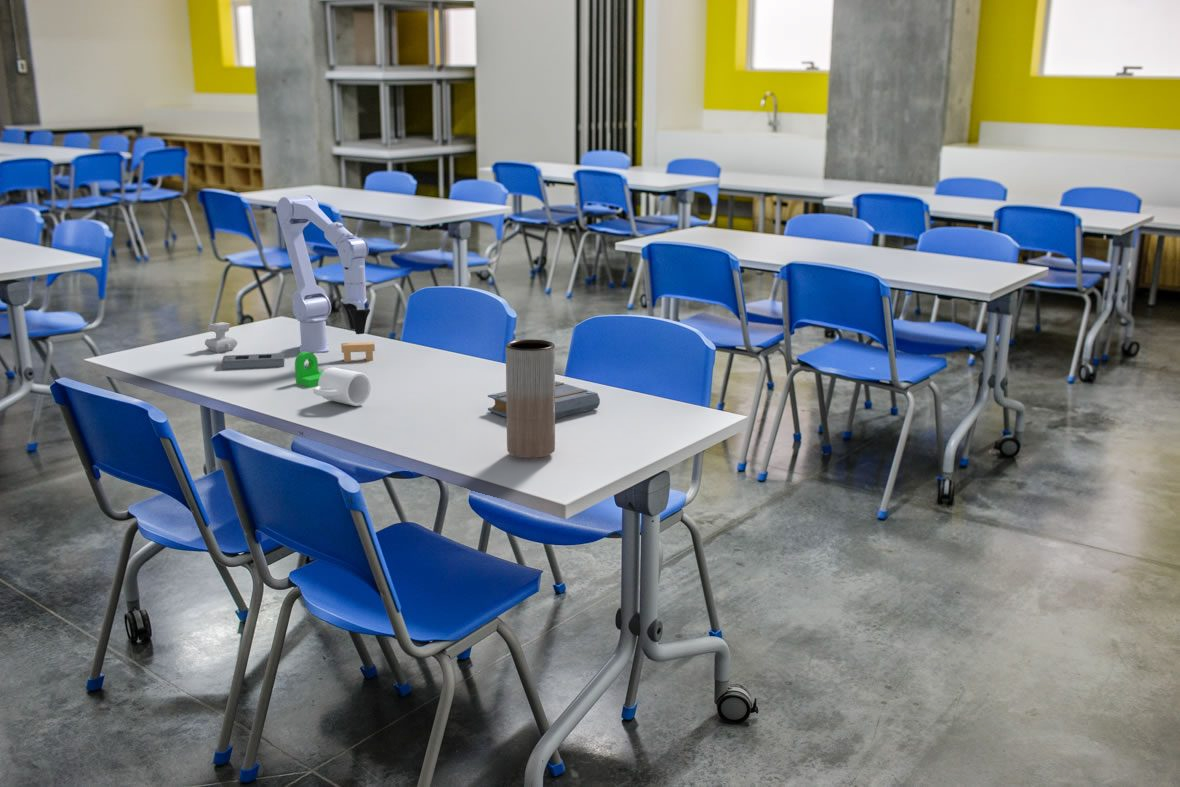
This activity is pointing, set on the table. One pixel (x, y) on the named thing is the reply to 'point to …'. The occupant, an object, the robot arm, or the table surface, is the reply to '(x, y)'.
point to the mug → (343, 386)
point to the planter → (530, 398)
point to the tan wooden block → (358, 350)
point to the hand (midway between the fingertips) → (357, 331)
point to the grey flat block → (253, 361)
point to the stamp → (220, 338)
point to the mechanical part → (307, 370)
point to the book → (557, 400)
